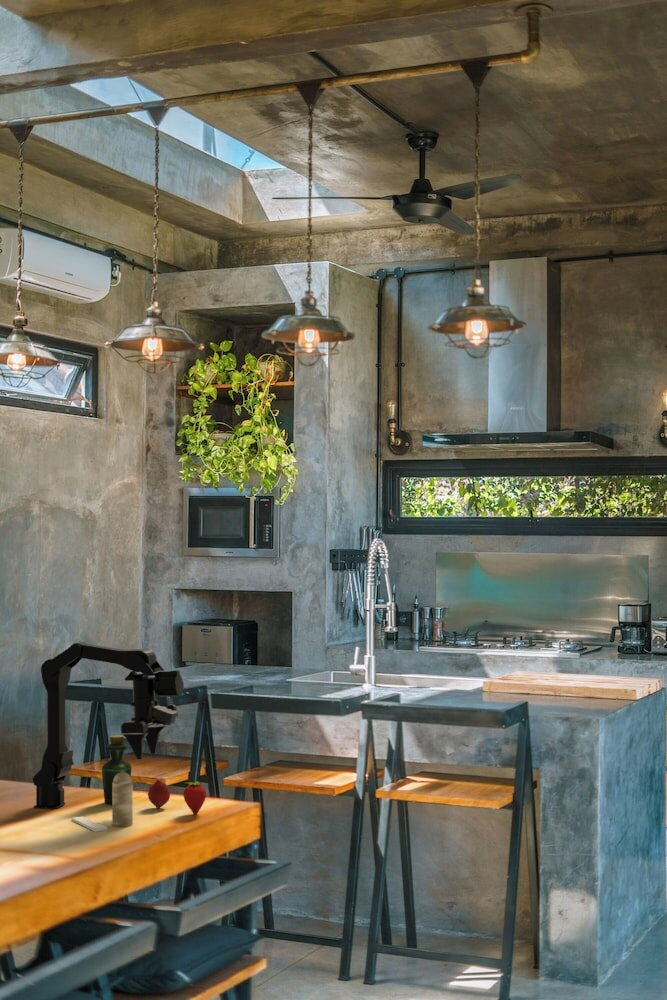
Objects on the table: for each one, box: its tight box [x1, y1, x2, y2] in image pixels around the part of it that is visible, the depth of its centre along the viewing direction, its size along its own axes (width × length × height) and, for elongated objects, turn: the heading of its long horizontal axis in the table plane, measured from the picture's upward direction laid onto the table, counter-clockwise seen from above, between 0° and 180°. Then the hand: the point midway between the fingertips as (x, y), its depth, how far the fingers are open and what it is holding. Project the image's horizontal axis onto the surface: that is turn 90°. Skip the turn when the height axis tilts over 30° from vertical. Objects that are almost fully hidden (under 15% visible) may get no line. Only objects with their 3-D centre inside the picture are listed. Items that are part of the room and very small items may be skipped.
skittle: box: [111, 772, 134, 828], centre depth 304 cm, size 5×5×13 cm
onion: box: [147, 777, 171, 809], centre depth 324 cm, size 6×6×8 cm
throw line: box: [70, 816, 108, 833], centre depth 304 cm, size 16×3×1 cm, turn 33°
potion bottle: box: [101, 734, 132, 806], centre depth 332 cm, size 8×8×18 cm
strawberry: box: [182, 780, 207, 815], centre depth 316 cm, size 6×8×10 cm
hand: (146, 756), depth 321 cm, fingers open, 9 cm apart
